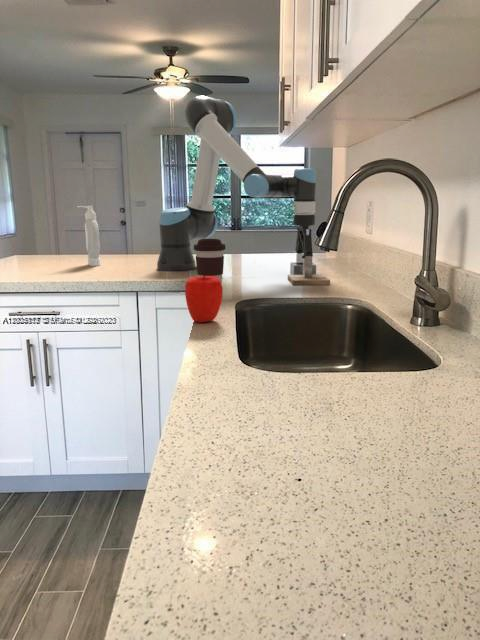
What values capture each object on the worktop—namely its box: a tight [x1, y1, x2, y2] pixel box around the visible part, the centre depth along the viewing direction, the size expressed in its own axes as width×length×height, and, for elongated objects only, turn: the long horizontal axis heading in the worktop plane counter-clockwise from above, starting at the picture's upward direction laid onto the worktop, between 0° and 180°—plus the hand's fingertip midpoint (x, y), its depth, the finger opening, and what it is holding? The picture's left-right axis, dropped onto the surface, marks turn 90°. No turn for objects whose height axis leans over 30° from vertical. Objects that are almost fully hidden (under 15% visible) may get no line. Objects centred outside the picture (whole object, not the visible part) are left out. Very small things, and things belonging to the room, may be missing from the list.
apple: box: [184, 276, 224, 324], centre depth 117 cm, size 9×9×11 cm
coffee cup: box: [193, 238, 226, 285], centre depth 159 cm, size 10×10×15 cm
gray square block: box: [289, 261, 317, 275], centre depth 183 cm, size 8×8×4 cm
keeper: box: [287, 256, 331, 286], centre depth 168 cm, size 12×12×8 cm
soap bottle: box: [76, 205, 102, 267], centre depth 210 cm, size 13×8×24 cm, turn 22°
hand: (303, 273), depth 183 cm, fingers open, 13 cm apart
